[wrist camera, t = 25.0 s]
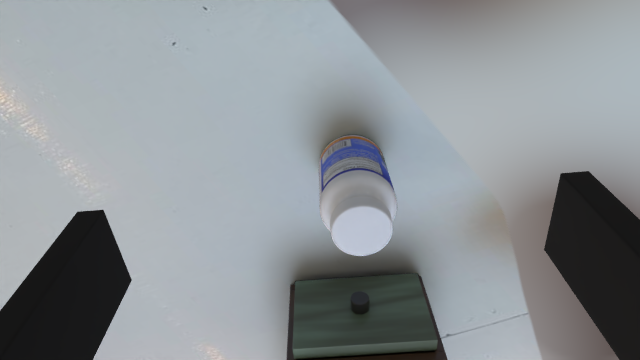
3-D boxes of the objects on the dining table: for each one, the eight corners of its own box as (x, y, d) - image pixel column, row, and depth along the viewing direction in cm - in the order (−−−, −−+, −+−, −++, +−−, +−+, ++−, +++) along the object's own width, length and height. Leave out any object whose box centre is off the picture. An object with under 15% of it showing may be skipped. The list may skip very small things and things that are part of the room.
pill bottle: (377, 193, 39) (397, 268, 30) (315, 188, 38) (316, 263, 30) (388, 135, 36) (413, 200, 28) (321, 129, 36) (325, 193, 27)
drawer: (293, 271, 42) (290, 338, 35) (417, 262, 41) (438, 329, 35) (306, 375, 49) (306, 448, 42) (412, 368, 49) (429, 440, 42)
